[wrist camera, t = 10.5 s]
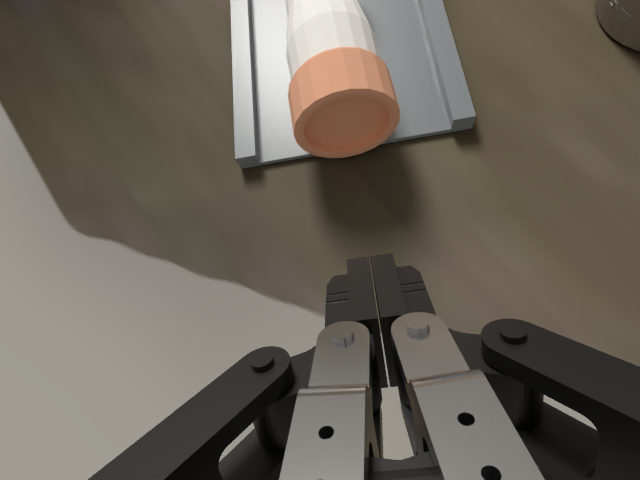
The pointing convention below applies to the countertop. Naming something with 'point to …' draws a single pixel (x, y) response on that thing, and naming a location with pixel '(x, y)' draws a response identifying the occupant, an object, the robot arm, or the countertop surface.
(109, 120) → the countertop surface
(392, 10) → the tray
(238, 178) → the countertop surface
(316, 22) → the pepper shaker
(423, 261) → the countertop surface
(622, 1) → the robot arm
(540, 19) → the countertop surface
